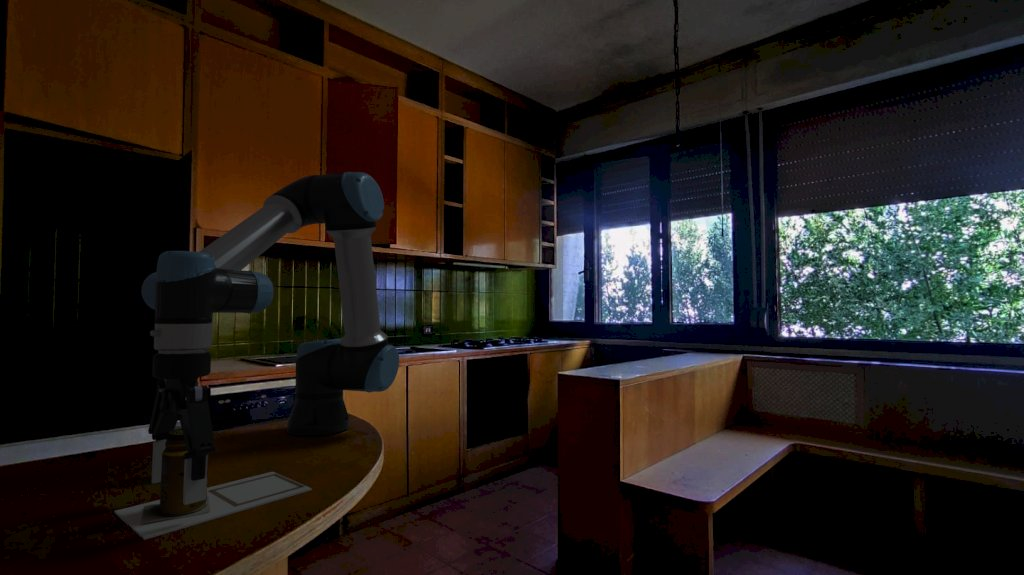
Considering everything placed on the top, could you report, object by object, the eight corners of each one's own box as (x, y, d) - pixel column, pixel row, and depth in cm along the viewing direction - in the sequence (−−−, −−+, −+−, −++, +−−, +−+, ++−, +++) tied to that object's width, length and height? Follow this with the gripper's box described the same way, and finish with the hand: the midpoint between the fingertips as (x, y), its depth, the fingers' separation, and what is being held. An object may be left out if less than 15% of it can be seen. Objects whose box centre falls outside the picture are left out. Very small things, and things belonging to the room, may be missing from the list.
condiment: (210, 512, 75) (213, 432, 75) (140, 525, 70) (143, 439, 71) (208, 497, 81) (211, 423, 81) (143, 508, 76) (147, 429, 77)
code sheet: (272, 473, 94) (272, 471, 94) (311, 490, 85) (311, 488, 85) (114, 512, 75) (114, 510, 75) (143, 539, 66) (144, 537, 66)
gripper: (128, 348, 81) (123, 479, 80) (185, 358, 66) (178, 520, 65) (181, 345, 87) (176, 468, 86) (244, 354, 72) (239, 503, 71)
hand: (177, 490), depth 76 cm, fingers open, 13 cm apart
